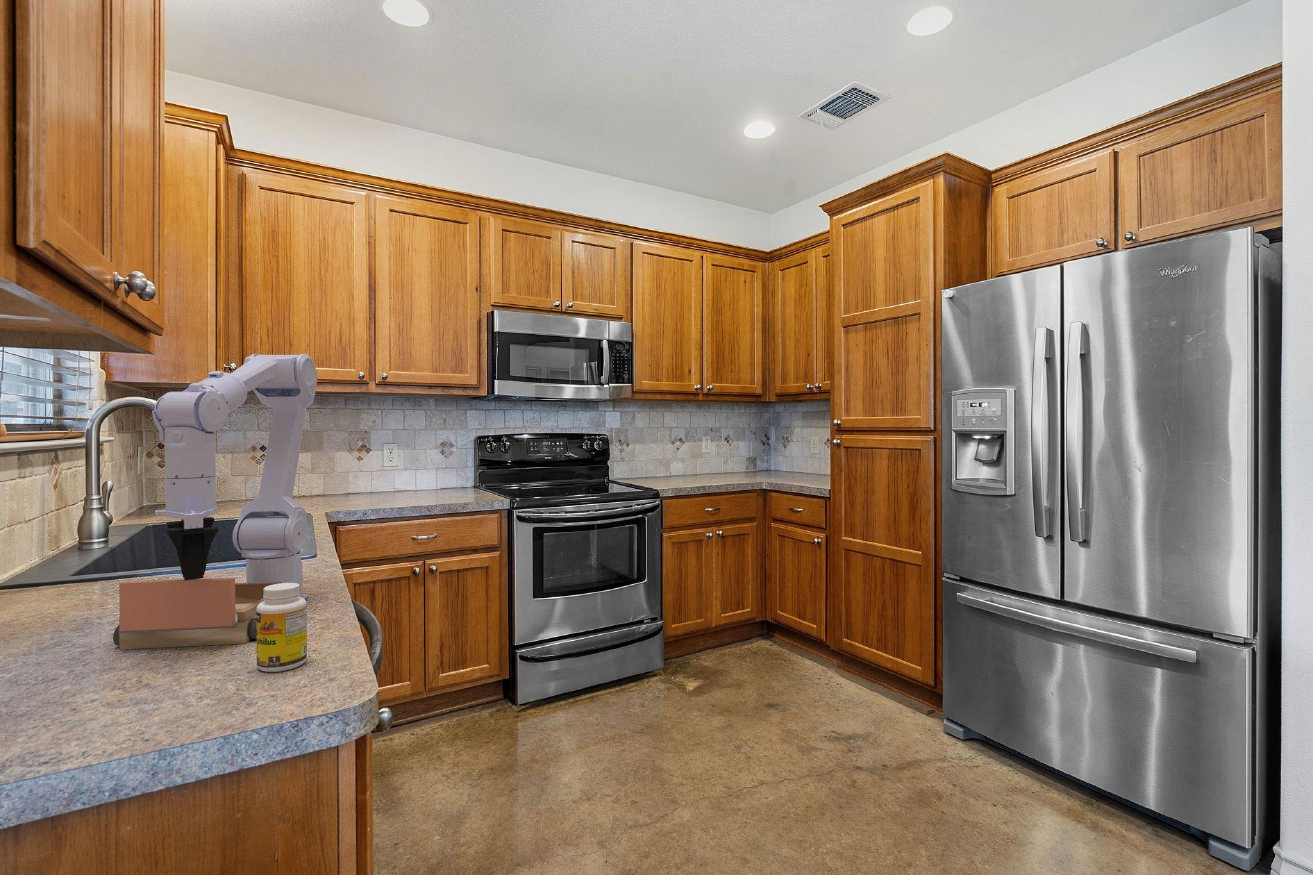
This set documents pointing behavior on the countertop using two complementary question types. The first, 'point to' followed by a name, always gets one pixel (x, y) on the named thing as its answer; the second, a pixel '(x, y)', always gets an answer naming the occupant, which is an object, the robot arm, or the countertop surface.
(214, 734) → the countertop surface
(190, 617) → the panel
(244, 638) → the truck bed
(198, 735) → the countertop surface
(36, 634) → the countertop surface
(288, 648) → the supplement bottle
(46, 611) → the countertop surface
